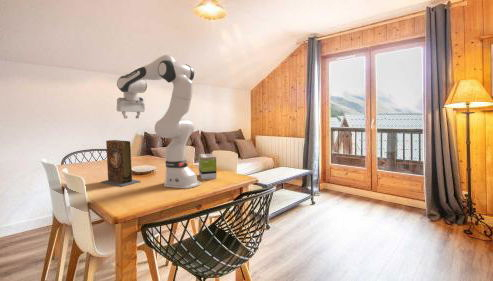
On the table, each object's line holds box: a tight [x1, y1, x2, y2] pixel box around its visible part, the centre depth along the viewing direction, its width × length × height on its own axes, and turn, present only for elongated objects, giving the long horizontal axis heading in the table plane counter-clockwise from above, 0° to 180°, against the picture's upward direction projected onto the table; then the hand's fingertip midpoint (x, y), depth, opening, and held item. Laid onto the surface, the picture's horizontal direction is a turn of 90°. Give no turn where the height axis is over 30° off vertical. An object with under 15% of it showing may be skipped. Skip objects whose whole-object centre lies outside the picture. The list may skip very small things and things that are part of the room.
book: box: [105, 139, 133, 183], centre depth 158 cm, size 16×6×25 cm, turn 62°
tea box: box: [198, 153, 217, 181], centre depth 173 cm, size 15×10×15 cm, turn 17°
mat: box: [100, 179, 141, 188], centre depth 159 cm, size 20×13×1 cm, turn 62°
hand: (131, 118), depth 179 cm, fingers open, 8 cm apart
